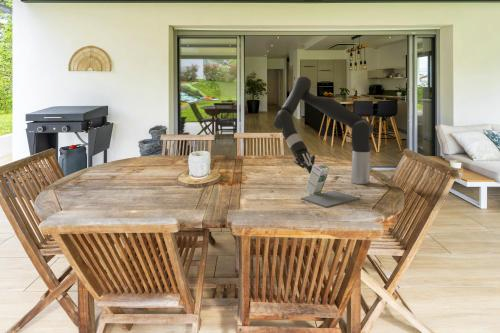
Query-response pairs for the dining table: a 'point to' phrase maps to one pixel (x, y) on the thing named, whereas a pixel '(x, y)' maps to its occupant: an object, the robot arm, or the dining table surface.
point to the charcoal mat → (330, 198)
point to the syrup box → (317, 178)
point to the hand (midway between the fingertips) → (312, 173)
